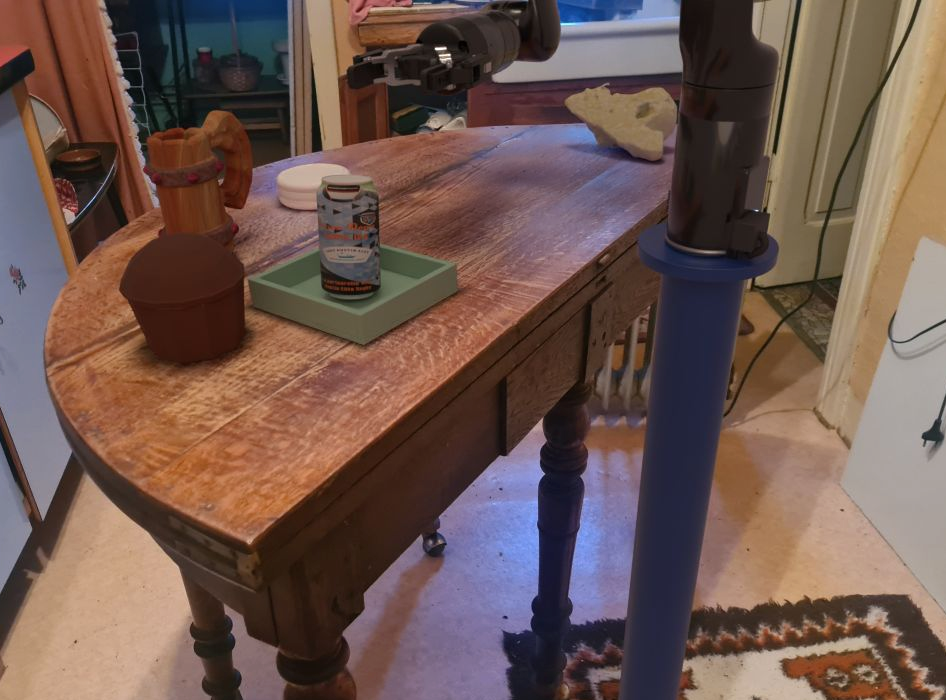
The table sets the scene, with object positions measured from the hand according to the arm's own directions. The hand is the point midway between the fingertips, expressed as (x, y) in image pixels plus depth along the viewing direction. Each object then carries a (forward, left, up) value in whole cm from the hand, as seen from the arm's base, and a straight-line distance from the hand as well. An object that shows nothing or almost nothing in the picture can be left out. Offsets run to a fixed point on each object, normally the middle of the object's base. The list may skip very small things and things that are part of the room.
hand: (386, 81), depth 85 cm
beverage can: (-2, +10, -19) cm, 21 cm away
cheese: (+1, -51, -20) cm, 55 cm away
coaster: (+25, -11, -20) cm, 34 cm away
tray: (-2, +10, -19) cm, 22 cm away
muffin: (+4, +25, -20) cm, 32 cm away
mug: (+21, +9, -20) cm, 30 cm away
